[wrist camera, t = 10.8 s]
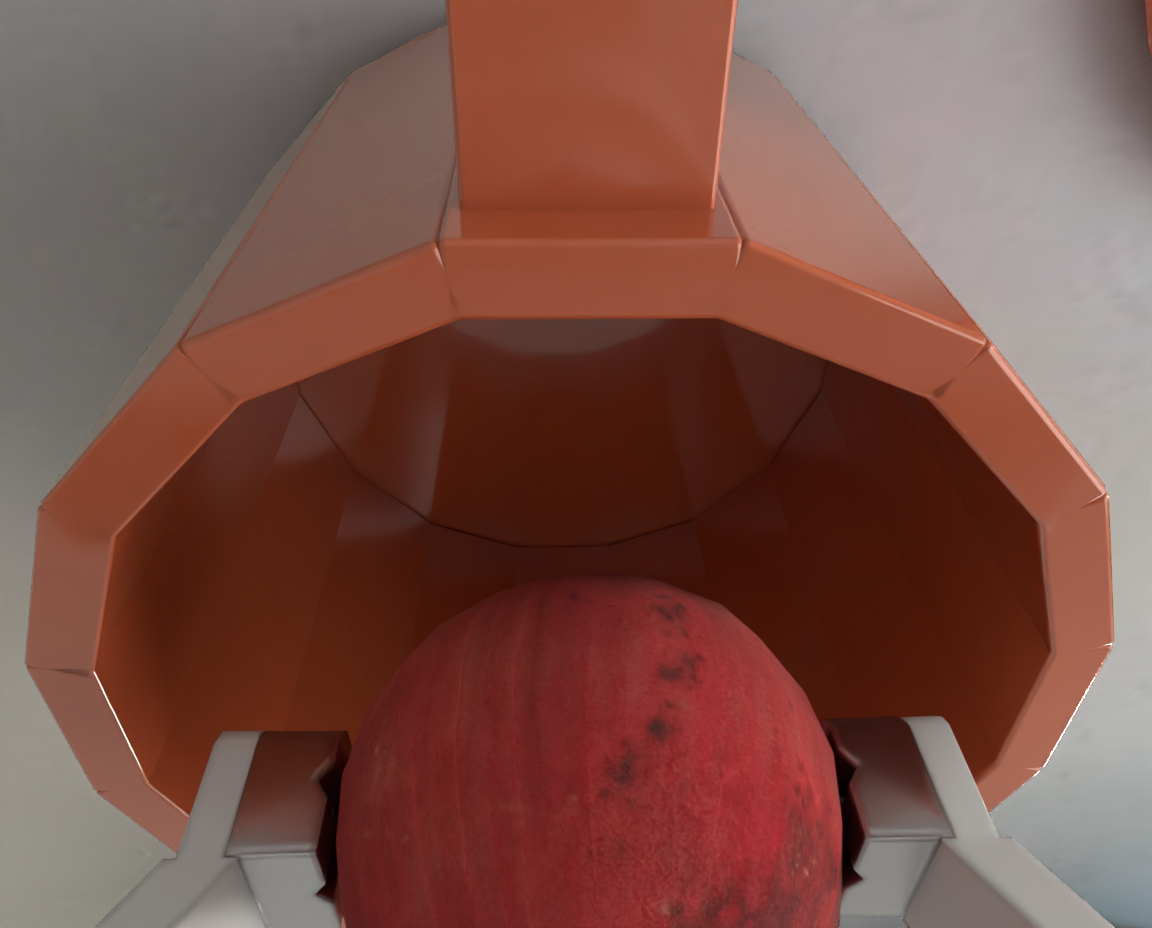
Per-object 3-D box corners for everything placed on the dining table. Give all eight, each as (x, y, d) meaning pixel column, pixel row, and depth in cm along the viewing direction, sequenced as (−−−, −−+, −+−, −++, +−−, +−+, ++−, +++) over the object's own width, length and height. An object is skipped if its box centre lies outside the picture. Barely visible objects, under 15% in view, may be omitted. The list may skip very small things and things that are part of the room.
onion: (634, 368, 11) (763, 1143, 5) (833, 617, 14) (1076, 1301, 8) (303, 571, 13) (86, 1316, 7) (540, 753, 16) (543, 1390, 10)
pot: (326, 626, 26) (225, 1030, 17) (138, -188, 14) (-431, -145, 6) (792, 618, 26) (911, 1007, 18) (976, -177, 15) (1556, -123, 6)
